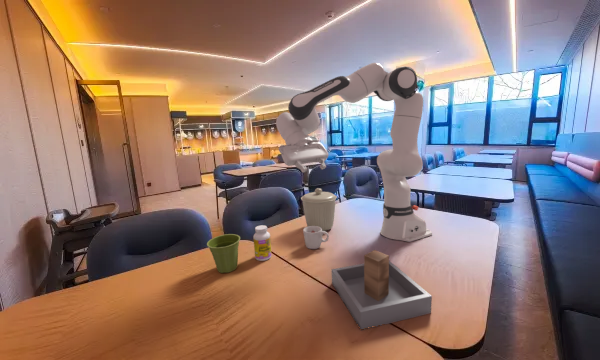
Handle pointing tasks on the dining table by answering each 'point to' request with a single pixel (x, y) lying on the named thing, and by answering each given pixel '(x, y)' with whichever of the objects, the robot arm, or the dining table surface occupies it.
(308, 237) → the cup
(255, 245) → the supplement bottle
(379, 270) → the walnut block
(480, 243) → the dining table surface
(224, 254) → the plant pot
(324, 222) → the canister
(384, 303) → the bin
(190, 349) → the dining table surface
